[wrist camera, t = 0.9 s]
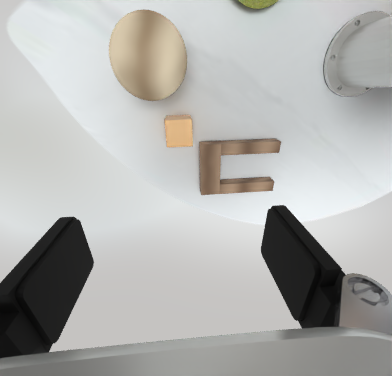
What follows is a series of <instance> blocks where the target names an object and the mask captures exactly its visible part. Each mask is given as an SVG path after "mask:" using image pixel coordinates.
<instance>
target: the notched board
mask: <svg viewBox="0 0 392 376" xmlns="http://www.w3.org/2000/svg"><path fill="white" fill-rule="evenodd" d="M280 145H281V141H279V140H277V139H255V140H231V141H208V142H199V149H200V192H201V195H209V194H225V193H242V192H259V191H273V185H274V181H273V180H272V179H271V178H270V177H259V178H241V179H223V180H220V163H221V155H238V154H259V153H279V150H280Z"/></svg>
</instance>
